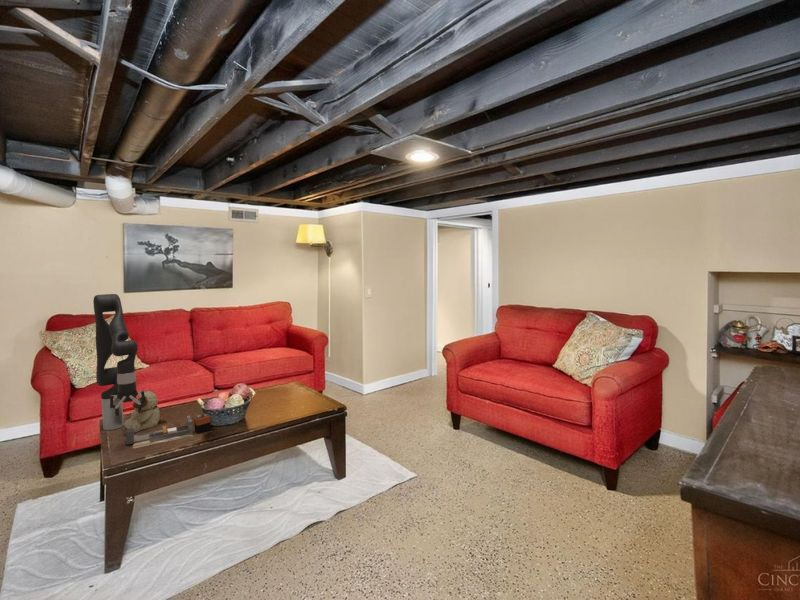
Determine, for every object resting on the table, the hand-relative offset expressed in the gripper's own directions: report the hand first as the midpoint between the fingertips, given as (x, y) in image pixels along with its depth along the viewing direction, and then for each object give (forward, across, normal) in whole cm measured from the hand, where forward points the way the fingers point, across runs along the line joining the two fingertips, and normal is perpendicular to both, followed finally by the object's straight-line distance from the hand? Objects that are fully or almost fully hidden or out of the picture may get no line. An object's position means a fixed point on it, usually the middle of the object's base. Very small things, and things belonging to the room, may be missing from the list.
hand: (128, 413), depth 197 cm
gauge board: (+16, -14, 0) cm, 22 cm away
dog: (+17, -8, -24) cm, 30 cm away
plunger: (+15, -7, 0) cm, 16 cm away
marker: (+15, -18, 0) cm, 24 cm away
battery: (+17, -32, +3) cm, 36 cm away
